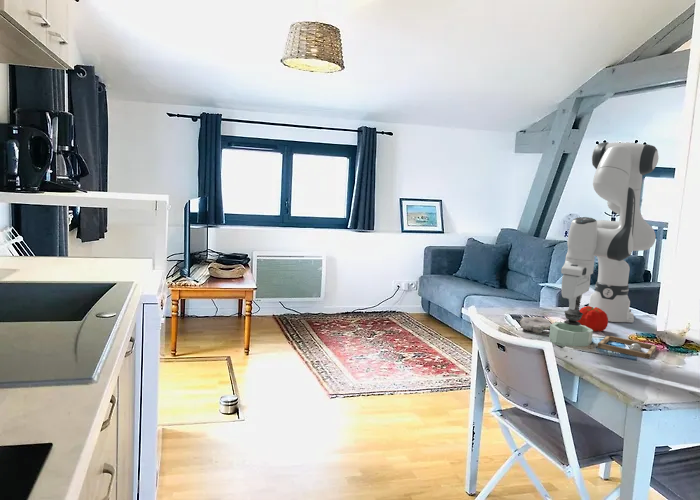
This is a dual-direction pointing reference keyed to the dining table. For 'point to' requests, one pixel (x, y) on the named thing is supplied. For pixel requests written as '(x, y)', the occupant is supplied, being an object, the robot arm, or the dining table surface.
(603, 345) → the oak tray
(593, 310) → the tomato
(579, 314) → the chess piece
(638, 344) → the pebble
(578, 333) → the bowl
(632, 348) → the pebble
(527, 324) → the fossil
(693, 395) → the dining table surface
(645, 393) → the dining table surface
